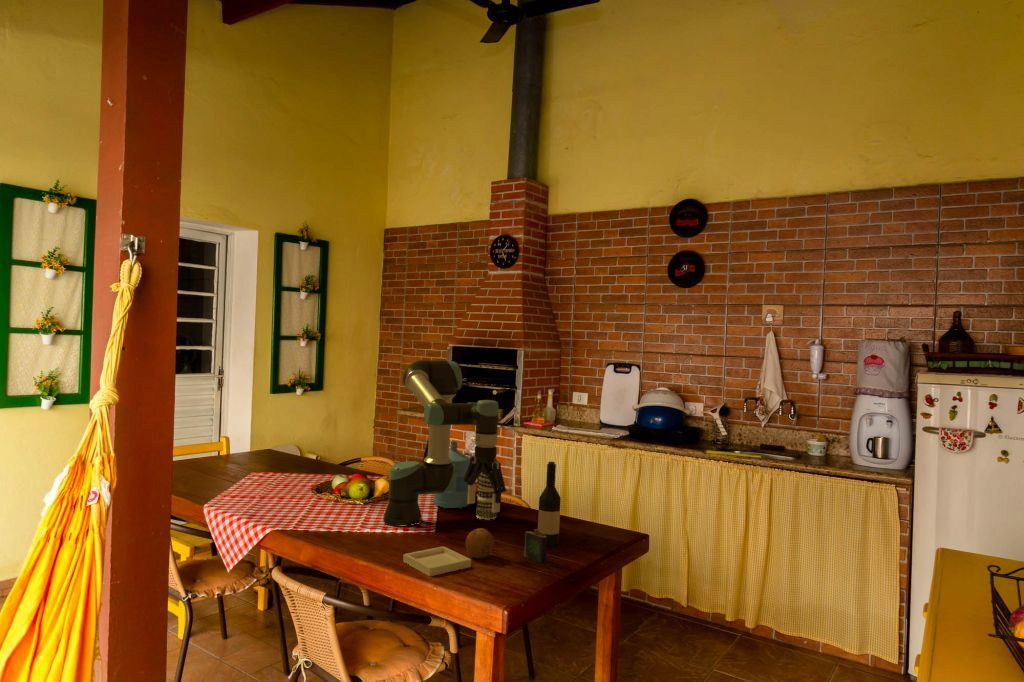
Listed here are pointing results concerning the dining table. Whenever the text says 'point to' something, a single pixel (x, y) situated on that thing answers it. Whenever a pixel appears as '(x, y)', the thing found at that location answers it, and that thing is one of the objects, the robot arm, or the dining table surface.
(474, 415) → the robot arm
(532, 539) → the flask
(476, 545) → the onion
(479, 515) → the decorative candle
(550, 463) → the wine bottle
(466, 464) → the water jug
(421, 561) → the dish
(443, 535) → the dining table surface
